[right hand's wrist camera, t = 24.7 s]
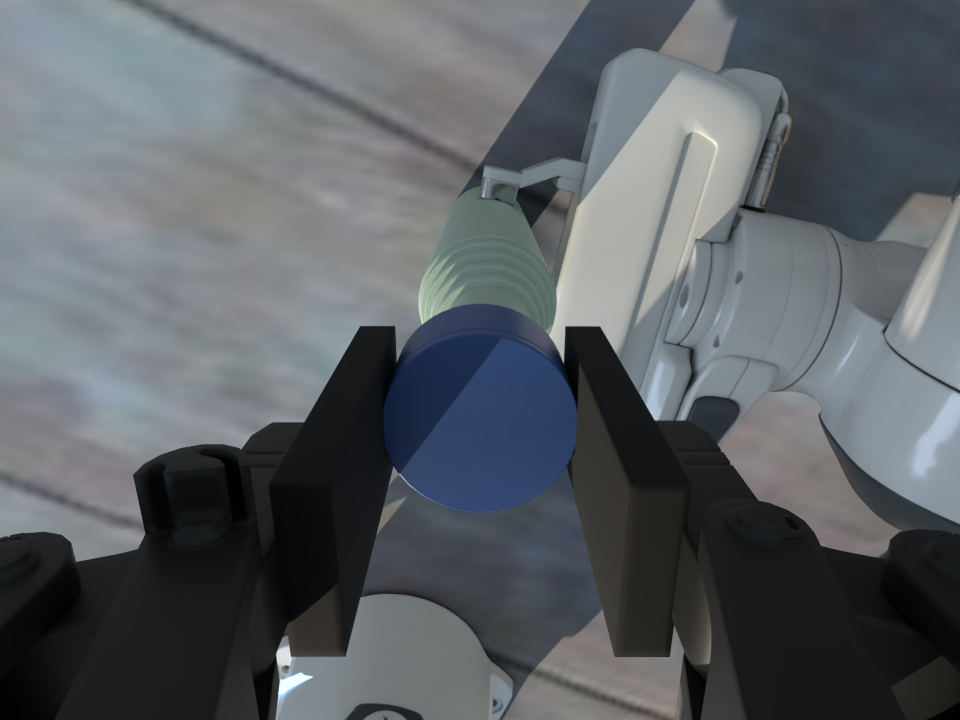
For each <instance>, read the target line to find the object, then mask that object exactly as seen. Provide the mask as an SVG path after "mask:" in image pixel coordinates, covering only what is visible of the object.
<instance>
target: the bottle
mask: <svg viewBox="0 0 960 720" xmlns="http://www.w3.org/2000/svg"><path fill="white" fill-rule="evenodd" d="M480 187H481V186H478V187H474V188H472V189H469V190H468V191H466V192H464V193H463V194H462V195H461V196H460V197H459V198H458V199H457V200H456V201H455V202H454V204H453V206H452V208H451V210H450V213H449V215H448V217H447V220H446V222H445V225H444V227H443V230H442V232H441V235H440V237H439V240H438V242H437V245H436V247H435V250H434V252H433V255H432V257H431V260H430V262H429V265H428V267H427V270H426V272H425V275H424V277H423V280H422V282H421V286H420V290H419V299H418V301H419V313H420V318H421V322H422V324H423V323H425V322H426V321H428V320H429V319H430V318H432V317H433V316H435V315H437V314H439V313H441V312H443V311H445V310H448V309H451V308H453V307H458V306H462V305H468V304H492V305H499V306H503V307H506V308H510V309H513V310H515V311H517V312H520V313H522V314H523V315H525V316H527V317H529V318H530V319H532V320H533V321H534V322H536V323H537V324H538V325H539V326H541V327H542V329H543V330H544V331H545V332H546V333H547V334H548V335H550V333H551V330H552V327H553V324H554V319H555V315H556V309H557V295H556V289H555V284H554V281H553V278H552V276H551V273H550V271H549V269H548V267H547V264H546V262H545V260H544V258H543V255H542V253H541V251H540V249H539V246H538V244H537V242H536V240H535V237H534V235H533V233H532V231H531V228H530V226H529V224H528V222H527V219H526V217H525V215H524V213H523V211H522V208H521V206H520V205H519V203H518V202H517V200H516V201H515V205H512V204H507V203H504V202H501V201H500V200H499V199H498V198H496V199H494V200H490V199H484V198H481V197H479V192H480Z"/></svg>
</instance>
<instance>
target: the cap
mask: <svg viewBox="0 0 960 720" xmlns="http://www.w3.org/2000/svg"><path fill="white" fill-rule="evenodd" d="M383 420H384V438H385V448H386V451H387V454H388V456H389V458H390V460H391V462H392V464H393V466H394V467H395V469H396V470H397V472H398V473H399V475H400V476H401V477H402V478H403V479H404V480H405V481H406V483H407V484H409V485H410V486H411V487H412V488H413V489H414V490H415V491H417V492H418V493H420V494H421V495H423V496H424V497H426V498H427V499H429V500H431V501H433V502H435V503H437V504H440V505H442V506H445V507H448V508H452V509H456V510H460V511H467V512H494V511H500V510H505V509H509V508H512V507H515V506H518V505H521V504H523V503H525V502H527V501H530V500H531V499H533V498H535V497H536V496H538V495H540V494H541V493H542V492H544V491H545V490H546V489H547V488H549V487H550V486H551V485H552V484H553V483H554V482H555V481H556V480H557V479H558V478H559V476H560V475H561V474H562V472H563V471H564V470H565V468H566V467H567V465H568V463H569V461H570V459H571V458H572V455H573V452H574V450H575V444H576V428H577V402H576V399H575V396H574V393H573V390H572V387H571V384H570V381H569V378H568V375H567V372H566V369H565V366H564V364H563V361H562V358H561V355H560V353H559V351H558V349H557V347H556V345H555V343H554V342H553V340H552V339H551V338H550V336H549V335H548V334H547V333H546V332H545V331H544V330H543V329H542V327H541V326H539V325H538V324H537V323H536V322H534V321H533V320H532V319H530V318H529V317H527V316H525V315H523V314H522V313H520V312H517V311H515V310H513V309H510V308H506V307H503V306H499V305H492V304H468V305H462V306H458V307H453V308H451V309H448V310H445V311H443V312H441V313H439V314H437V315H435V316H433V317H432V318H430V319H429V320H428V321H426V322H425V323H423V324H422V325H421V326H420V327H419V328H418V329H417V330H416V331H415V332H414V333H413V334H412V336H411V337H410V338H409V339H408V341H407V343H406V344H405V346H404V348H403V349H402V352H401V354H400V356H399V359H398V362H397V365H396V367H395V370H394V373H393V376H392V379H391V382H390V385H389V388H388V391H387V394H386V397H385V401H384V404H383Z"/></svg>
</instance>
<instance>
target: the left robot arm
mask: <svg viewBox="0 0 960 720" xmlns="http://www.w3.org/2000/svg"><path fill="white" fill-rule="evenodd" d="M778 101H779V103H780V109H779V112H775V110H776V107H777V104H778ZM788 112H789V97H788V94H787V91H786V89H785V86H784V85H783V84H782V82H781V81H780V80H779V79H778V78H776V77H775V76H774V75H771V74H769V73H766V72H762V71H758V70H754V69H749V68H745V67H739V66H734V67H728V68H724V69H722V70H720V71H718V72H716V73H715V72H712V71H710V70H707V69H705V68H703V67H700V66H698V65H695V64H692V63H690V62H687V61H685V60H682V59H679V58H676V57H673V56H670V55H666V54H663V53H660V52H656V51H652V50H648V49H644V48H634V49H630V50H627V51H625V52H623V53H621V54H620V55H618V56H617V57H615V58H614V59H613V60H611V61H610V62H609V63H607V64H606V65H605V67H604V69H603V71H602V75H601V79H600V83H599V87H598V91H597V95H596V99H595V103H594V107H593V111H592V115H591V119H590V123H589V127H588V131H587V135H586V139H585V143H584V147H583V151H582V155H581V159H580V161H576V160H571V159H566V158H561V157H556V158H553V159H550V160H547V161H544V162H541V163H538V164H535V165H532V166H529V167H526V168H524V169H521V170H520V172H518V171H513V170H508V169H504V168H499V167H494V166H488V165H485V167H484V172H483V176H482V182H481V187H480V192H479V197H481V198H484V199H490V200H494V199H496V198H498V199H499V200H500V201H501V202H504V203H507V204H512V205H515V201H516V197H517V193H518V189H519V188H523V187H526V186H529V185H532V184H535V183H538V182H541V181H544V180H547V179H550V178H553V177H554V178H553V184H554V186H556V187H557V188H558V189H561V190H565V191H569V192H572V195H571V199H570V204H569V208H568V212H567V216H566V220H565V224H564V228H563V232H562V236H561V240H560V244H559V248H558V252H557V256H556V260H555V264H554V268H553V272H552V278H553V281H554V284H555V289H556V295H557V309H556V315H555V319H554V324H553V327H552V330H551V333H550V335H549V336H550V338H551V339H552V340H553V342H554V343H555V345H556V347H557V349H558V351H559V353H560V355H561V358H562V361H563V364H564V345H565V326H600V327H601V329H602V330H603V332H604V334H605V336H606V337H607V339H608V341H609V342H610V344H611V346H612V348H613V349H614V351H615V353H616V354H617V356H618V358H619V360H620V361H621V363H622V365H623V367H624V368H625V370H626V372H627V373H628V375H629V377H630V379H631V380H632V382H633V384H634V385H635V387H636V389H637V391H638V392H639V394H640V396H641V397H642V399H643V401H644V403H645V404H646V406H647V408H648V410H649V411H650V413H651V415H652V416H653V418H654V420H688V421H690V422H691V423H693V424H695V425H696V426H698V427H700V428H701V429H703V430H704V431H706V432H708V433H709V434H710V435H711V437H712V438H713V439H714V441H715V442H716V443H717V445H718V446H719V447H720V446H721V444H722V443H723V442H724V440H725V439H726V438H727V437H728V435H729V434H730V433H731V432H732V430H733V429H734V428H735V427H736V425H737V424H738V423H739V422H740V420H741V419H742V418H743V417H744V416H745V415H746V413H747V412H748V411H749V410H750V409H751V408H752V407H753V405H754V404H755V403H756V402H757V401H758V400H759V399H760V398H761V397H762V396H763V395H764V394H765V393H766V392H767V391H771V392H779V391H792V392H799V393H804V394H806V395H809V396H810V397H812V398H813V399H815V400H816V401H817V402H818V403H819V405H820V407H821V412H820V413H819V420H820V423H821V425H822V428H823V430H824V433H825V435H826V437H827V439H828V441H829V443H830V445H831V448H832V449H833V451H834V453H835V455H836V457H837V459H838V461H839V463H840V465H841V467H842V469H843V471H844V473H845V475H846V477H847V479H848V481H849V483H850V485H851V486H852V488H853V490H854V491H855V492H856V494H857V495H858V496H859V497H860V498H861V499H862V501H863V502H864V503H865V504H866V505H867V506H868V507H869V508H870V509H871V510H872V511H873V512H874V513H875V514H876V515H877V516H879V517H880V518H881V519H883V520H884V521H886V522H887V523H889V524H890V525H892V526H894V527H895V528H897V529H899V530H901V531H908V530H913V529H925V530H941V531H947V532H951V534H954V533H956V534H959V535H960V179H959V181H958V184H957V186H956V188H955V190H954V193H953V195H952V198H951V202H952V206H951V208H950V210H949V212H948V213H947V215H946V217H945V219H944V221H943V223H942V225H941V227H940V229H939V230H938V232H937V234H936V236H935V238H934V240H933V242H932V244H931V246H930V248H926V247H922V246H918V245H914V244H909V243H905V242H899V241H875V242H862V241H856V240H853V239H851V238H848V237H846V236H845V235H843V234H842V233H840V232H838V231H836V230H834V229H832V228H830V227H828V226H825V225H821V224H817V223H812V222H808V221H803V220H799V219H794V218H789V217H785V216H780V215H776V214H771V213H766V212H765V211H764V209H765V205H766V203H767V200H768V197H769V194H770V191H771V188H772V185H773V182H774V179H775V175H776V173H775V172H776V171H777V166H778V162H779V161H778V160H779V159H780V154H781V153H782V150H783V147H784V145H786V143H787V141H788V139H789V136H790V134H791V130H792V126H793V119H794V117H793V115H791V114H788ZM739 205H743V206H741V207H739ZM276 657H277V664H278V671H279V678H280V687H279V695H278V703H277V712H276V720H499V719H500V717H501V716H502V714H503V712H504V710H505V709H506V707H507V705H508V704H509V702H510V700H511V698H512V694H513V681H512V679H511V678H510V677H509V675H508V674H507V673H505V672H504V671H503V670H502V669H501V668H499V667H498V666H497V665H496V664H494V663H493V662H492V661H490V659H489V658H488V656H487V655H486V653H485V651H484V649H483V647H482V645H481V643H480V641H479V640H478V638H477V636H476V635H475V634H474V632H473V631H472V630H471V628H470V627H469V626H468V625H467V624H466V623H465V622H464V621H463V620H462V619H460V618H459V617H458V616H457V615H455V614H454V613H452V612H451V611H449V610H448V609H446V608H444V607H442V606H440V605H438V604H436V603H433V602H431V601H428V600H425V599H422V598H418V597H413V596H408V595H401V594H377V595H369V596H364V597H361V598H360V602H359V606H358V610H357V614H356V618H355V622H354V626H353V629H352V633H351V637H350V641H349V645H348V649H347V653H346V657H291V655H290V648H289V640H288V635H287V636H284V637H283V638H282V640H281V643H280V645H279V648H278V651H277V653H276ZM287 665H288V666H287Z"/></svg>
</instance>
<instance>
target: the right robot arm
mask: <svg viewBox="0 0 960 720" xmlns="http://www.w3.org/2000/svg"><path fill="white" fill-rule="evenodd" d="M396 365H397V357H396V336H395V326H360V328H359V329H358V331H357V333H356V335H355V336H354V338H353V340H352V341H351V343H350V345H349V347H348V348H347V350H346V352H345V354H344V355H343V357H342V359H341V360H340V362H339V364H338V366H337V367H336V369H335V371H334V372H333V374H332V376H331V378H330V379H329V381H328V383H327V385H326V386H325V388H324V390H323V391H322V393H321V395H320V397H319V398H318V400H317V402H316V403H315V405H314V407H313V409H312V410H311V412H310V414H309V415H308V417H307V419H306V421H305V422H273V423H271V424H269V425H268V426H266V427H265V428H263V429H261V430H260V431H258V432H257V433H255V434H253V435H252V436H251V437H250V438H249V440H248V441H247V443H246V444H245V445H244V447H243V448H242V449H240V448H236V447H232V446H228V445H224V444H203V445H197V446H191V447H184V448H180V449H177V450H174V451H171V452H168V453H165V454H162V455H160V456H158V457H156V458H154V459H152V460H151V461H149V462H147V463H145V464H144V465H143V466H142V467H141V468H140V469H139V470H138V471H137V472H136V473H135V474H134V475H133V477H134V481H135V486H136V491H137V496H138V500H139V505H140V510H141V515H142V519H143V524H144V529H145V533H146V534H145V536H144V538H143V540H142V542H141V544H140V546H139V548H138V549H137V550H133V551H129V552H125V553H121V554H116V555H111V556H105V557H100V558H95V559H90V560H84V561H79V562H76V560H75V556H74V553H73V549H72V545H71V542H70V541H68V540H67V539H66V538H65V537H63V536H62V535H59V534H54V533H48V532H36V533H20V534H15V535H10V537H7V536H6V537H2V538H0V720H276V712H277V703H278V695H279V687H280V678H279V671H278V664H277V657H276V653H277V651H278V648H279V645H280V643H281V640H282V638H283V635H284V632H285V630H286V627H287V632H288V640H289V648H290V655H291V657H346V653H347V649H348V645H349V641H350V637H351V633H352V629H353V626H354V622H355V618H356V614H357V610H358V606H359V602H360V598H361V594H362V590H363V586H364V582H365V578H366V574H367V570H368V566H369V562H370V558H371V554H372V550H373V546H374V542H375V538H376V534H377V530H378V526H379V522H380V518H381V514H382V510H383V506H384V502H385V498H386V494H387V490H388V486H389V482H390V478H391V474H392V470H393V464H392V462H391V460H390V458H389V456H388V454H387V451H386V448H385V438H384V420H383V404H384V401H385V397H386V394H387V391H388V388H389V385H390V382H391V379H392V376H393V373H394V370H395V367H396ZM564 366H565V369H566V372H567V375H568V378H569V381H570V384H571V387H572V390H573V393H574V396H575V399H576V402H577V428H576V444H575V450H574V452H573V455H572V458H571V459H570V461H569V463H568V465H567V468H568V472H569V476H570V480H571V484H572V488H573V492H574V496H575V500H576V504H577V508H578V512H579V516H580V520H581V524H582V528H583V532H584V536H585V540H586V544H587V548H588V552H589V556H590V560H591V564H592V568H593V572H594V576H595V580H596V584H597V588H598V592H599V596H600V600H601V604H602V608H603V612H604V616H605V620H606V624H607V628H608V632H609V636H610V640H611V644H612V648H613V652H614V656H615V657H670V651H671V643H672V636H673V628H674V625H675V628H676V630H677V633H678V636H679V638H680V641H681V643H682V646H683V649H684V657H683V664H682V671H681V678H680V685H679V693H678V700H677V707H676V714H675V720H684V718H685V720H960V535H959V534H956V533H954V534H951V532H947V531H941V530H925V529H913V530H908V531H902V532H899V533H898V534H897V535H895V536H894V537H893V538H892V539H890V543H889V547H888V551H887V555H886V558H885V559H881V558H876V557H870V556H865V555H860V554H855V553H849V552H844V551H839V550H835V549H831V548H827V547H823V546H821V545H820V543H819V541H818V539H817V537H816V535H815V533H814V532H813V531H812V529H811V528H810V527H809V526H808V525H807V523H806V522H805V521H804V520H802V519H801V518H799V517H798V516H796V515H795V514H793V513H791V512H790V511H788V510H786V509H783V508H781V507H778V506H776V505H773V504H770V503H767V502H762V501H758V499H757V498H756V497H755V495H754V494H753V493H752V491H751V490H750V488H749V487H748V486H747V484H746V483H745V482H744V480H743V479H742V478H741V476H740V475H739V473H738V472H737V471H736V469H735V468H734V467H733V465H730V461H729V460H728V458H727V457H726V456H725V454H724V453H723V452H721V449H720V447H719V446H718V445H717V443H716V442H715V441H714V439H713V438H712V437H711V435H710V434H709V433H708V432H706V431H704V430H703V429H701V428H700V427H698V426H696V425H695V424H693V423H691V422H690V421H688V420H654V418H653V416H652V415H651V413H650V411H649V410H648V408H647V406H646V404H645V403H644V401H643V399H642V397H641V396H640V394H639V392H638V391H637V389H636V387H635V385H634V384H633V382H632V380H631V379H630V377H629V375H628V373H627V372H626V370H625V368H624V367H623V365H622V363H621V361H620V360H619V358H618V356H617V354H616V353H615V351H614V349H613V348H612V346H611V344H610V342H609V341H608V339H607V337H606V336H605V334H604V332H603V330H602V329H601V327H600V326H565V345H564Z"/></svg>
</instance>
